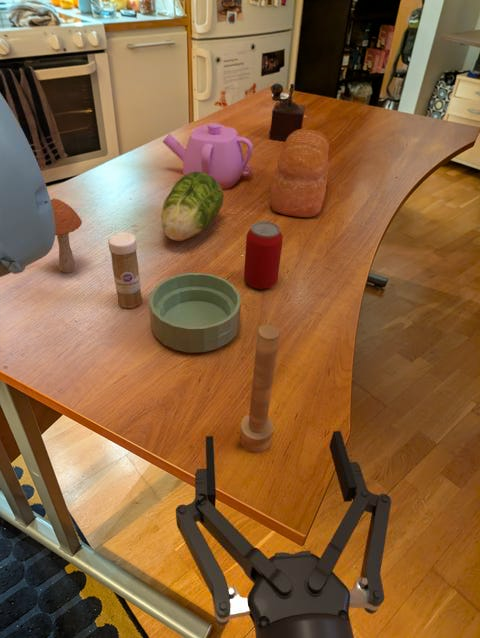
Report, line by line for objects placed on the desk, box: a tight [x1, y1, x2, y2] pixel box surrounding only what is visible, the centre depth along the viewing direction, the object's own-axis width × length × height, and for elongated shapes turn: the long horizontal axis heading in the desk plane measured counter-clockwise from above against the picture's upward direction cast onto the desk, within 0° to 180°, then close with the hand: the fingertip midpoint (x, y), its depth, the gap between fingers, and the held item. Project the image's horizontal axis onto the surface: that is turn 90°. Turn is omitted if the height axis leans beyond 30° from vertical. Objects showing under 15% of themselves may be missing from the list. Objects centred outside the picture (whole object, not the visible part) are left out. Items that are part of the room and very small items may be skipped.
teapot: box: [162, 122, 254, 190], centre depth 125 cm, size 19×21×14 cm
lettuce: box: [160, 172, 225, 242], centre depth 102 cm, size 12×21×11 cm, turn 166°
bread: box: [269, 128, 330, 218], centre depth 118 cm, size 14×26×15 cm, turn 168°
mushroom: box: [50, 198, 83, 274], centre depth 87 cm, size 8×8×15 cm
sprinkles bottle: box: [107, 231, 143, 309], centre depth 81 cm, size 5×5×13 cm
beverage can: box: [243, 220, 284, 290], centre depth 88 cm, size 7×7×12 cm
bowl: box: [148, 272, 242, 354], centre depth 79 cm, size 15×15×6 cm
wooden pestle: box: [239, 323, 281, 453], centre depth 57 cm, size 4×4×20 cm
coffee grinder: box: [268, 82, 306, 142], centre depth 151 cm, size 16×11×18 cm
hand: (272, 440), depth 49 cm, fingers open, 13 cm apart
